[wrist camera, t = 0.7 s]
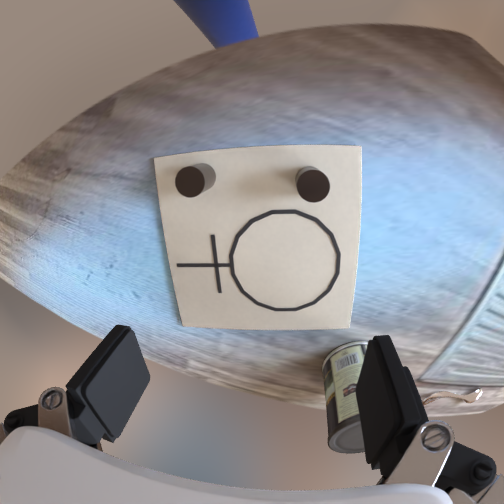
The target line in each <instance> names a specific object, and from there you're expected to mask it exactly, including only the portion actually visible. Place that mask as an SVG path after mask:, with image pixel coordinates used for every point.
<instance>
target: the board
mask: <svg viewBox="0 0 504 504" xmlns="http://www.w3.org/2000/svg"><path fill="white" fill-rule="evenodd" d="M200 163H205V164H208V165H210V166H211V167H212V168H213V169H214V171H215V173H216V181H215V183H214V185H213V186H212V187H211V188H210V189H208V190H206V191H205V192H203V193H201V194H200V195H198V196H196V197H192V198H188V197H185V196H183V195H181V194H180V193H179V192H178V190H177V188H176V186H175V178H176V175H177V173H178V172H179V171H180V170H181V169H182V168H184V167H187V166H191V165H195V164H200ZM154 164H155V173H156V182H157V190H158V197H159V205H160V212H161V218H162V225H163V231H164V237H165V243H166V249H167V254H168V259H169V265H170V270H171V275H172V280H173V285H174V289H175V294H176V299H177V303H178V307H179V312H180V316H181V320H182V324H183V326H185V327H200V328H218V329H243V330H321V329H346V328H349V327H350V320H351V314H352V306H353V299H354V291H355V283H356V273H357V263H358V252H359V238H360V221H361V193H362V155H361V146H352V145H275V146H255V147H240V148H228V149H217V150H208V151H199V152H191V153H183V154H176V155H169V156H162V157H156V158H154ZM307 166H312V167H315V168H317V169H319V170H320V171H321V172H323V173H324V174H325V175H326V176H327V177H328V179H329V182H330V191H329V193H328V195H327V197H326V198H325V199H323V200H322V201H320V202H316V203H311V202H307V201H305V200H304V199H303V198H301V196H300V195H299V193H298V191H297V187H296V183H295V177H296V174H297V173H298V171H299V170H300V169H302V168H304V167H307Z"/></svg>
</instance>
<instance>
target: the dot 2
mask: <svg viewBox="0 0 504 504" xmlns="http://www.w3.org/2000/svg"><path fill="white" fill-rule="evenodd" d="M295 183H296V187H297V191H298V193H299V195H300V196H301V198H303V199H304V200H305V201H307V202H311V203H316V202H320V201H322V200H323V199H325V198H326V197H327V195H328V193H329V191H330V182H329V179H328V177H327V176H326V175H325V174H324V173H323V172H321V171H320V170H319V169H317V168H315V167H312V166H307V167H304V168H302V169H300V170H299V171H298V173H297V174H296V177H295Z"/></svg>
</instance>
